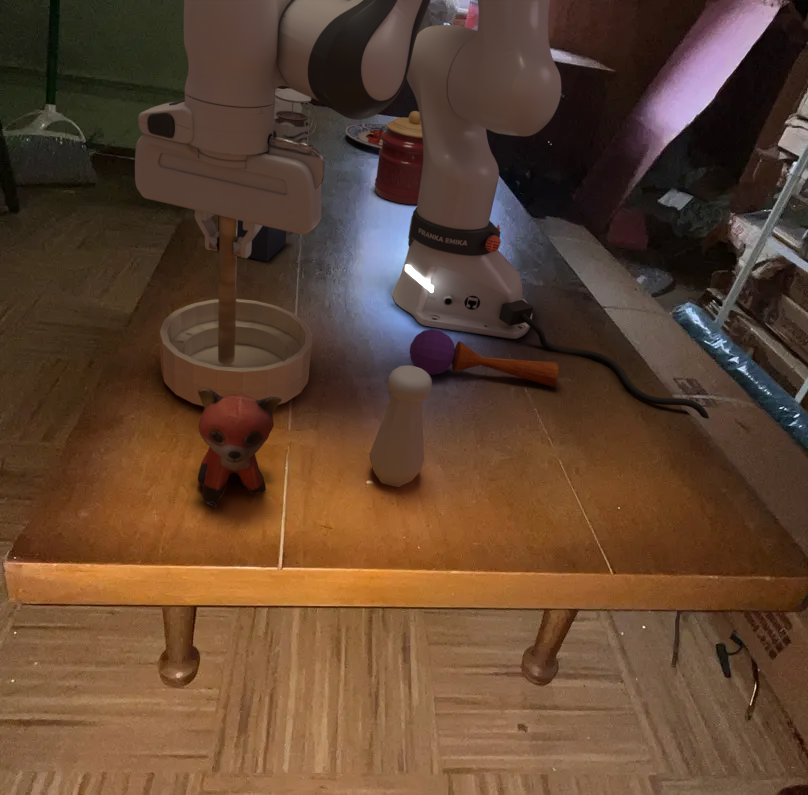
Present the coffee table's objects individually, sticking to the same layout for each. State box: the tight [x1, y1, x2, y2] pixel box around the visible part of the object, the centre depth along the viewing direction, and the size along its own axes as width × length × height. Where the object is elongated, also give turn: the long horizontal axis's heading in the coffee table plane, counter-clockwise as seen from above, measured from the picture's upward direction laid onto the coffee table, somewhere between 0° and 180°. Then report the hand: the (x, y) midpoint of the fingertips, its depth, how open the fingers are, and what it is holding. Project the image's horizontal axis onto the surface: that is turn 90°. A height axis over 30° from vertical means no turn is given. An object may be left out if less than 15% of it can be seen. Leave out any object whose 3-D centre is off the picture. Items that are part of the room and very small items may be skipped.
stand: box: [217, 215, 287, 263], centre depth 122 cm, size 9×9×6 cm
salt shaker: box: [369, 365, 433, 488], centre depth 75 cm, size 6×6×13 cm
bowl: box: [159, 298, 313, 407], centre depth 89 cm, size 18×18×6 cm
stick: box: [217, 215, 238, 364], centre depth 84 cm, size 2×2×22 cm
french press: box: [274, 87, 319, 143], centre depth 163 cm, size 10×12×25 cm
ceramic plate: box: [344, 122, 388, 151], centre depth 193 cm, size 26×26×3 cm
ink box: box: [274, 87, 303, 139], centre depth 183 cm, size 10×5×14 cm, turn 94°
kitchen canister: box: [374, 110, 423, 205], centre depth 155 cm, size 13×13×18 cm
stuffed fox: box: [197, 389, 282, 508], centre depth 71 cm, size 8×11×12 cm
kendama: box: [409, 328, 559, 387], centre depth 98 cm, size 6×6×20 cm
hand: (228, 252), depth 82 cm, fingers closed on stick, 2 cm apart
